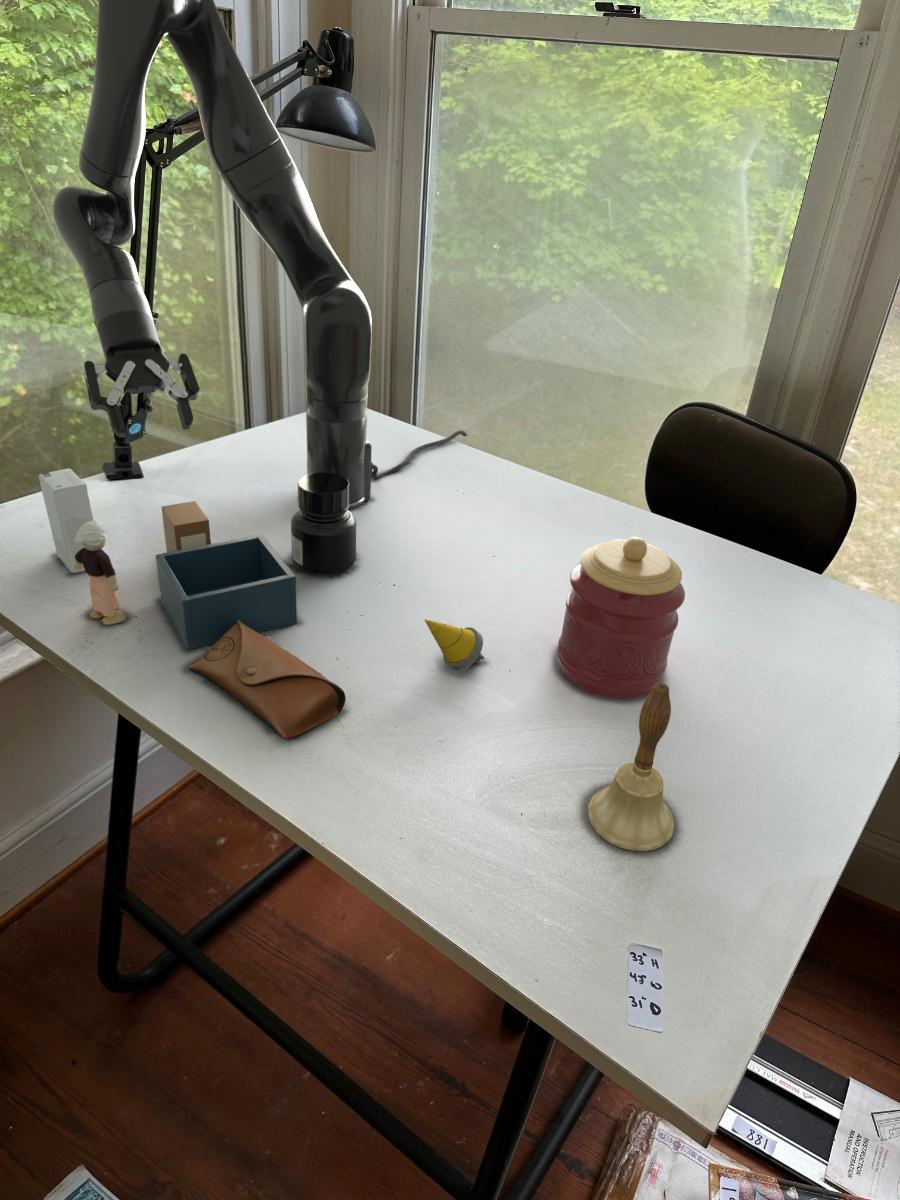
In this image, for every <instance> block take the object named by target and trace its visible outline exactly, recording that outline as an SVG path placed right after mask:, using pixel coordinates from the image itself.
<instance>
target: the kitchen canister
mask: <svg viewBox="0 0 900 1200" xmlns="http://www.w3.org/2000/svg"><path fill="white" fill-rule="evenodd" d="M580 556H581V557H580V562H579V563H577V564H576V565H575V566H574V567H573V568H572V569H571V571H570V575H569V582H570V586H571V587H572V588H571V590H570V591H569V592H568V593H567V595H566V599H565V611H564V612H565V613H564V617H563V622H562V623H563V624H562V629H561V635H560V636H559V638H558V644H557V647H556V650H557V651H556V653H557V663H558V666H559V669H560V671H561V673H562V674H563V675H564V676H565V677H566V678H567V679H568V680H569V682H571V683H572V684H574V685H575V686H577V687H578V688H580V689H582V690H584V691H585V692H588V693H591V694H594V695H598V696H600V697H604V698H611V699H623V700H624V699H634V698H639V697H643V696H645V695H649V694H650V692H651V691H652V689H653V687H654V685H655V684H656V683H661V680H662V679H663V678H664V676H665V674H666V669H667V666H668V656H669V653H670V649H671V645H672V641H673V637H674V634H675V631H676V629H677V627H678V624H679V614H678V611H677V610H679V609H680V607H682V606H683V604H684V602H685V599H686V591H685V588H684V586H683V584H682V580H683V573H682V572H683V571H682V568H681V567H680V566H679V564H678V563H677V562H676V561H675V560H674V559H672V558H671V557H670V556H669V555H667V553H665V552H664V550H662V549H660V548H658V547H656V546H655V545H652V544H650V543H646V541H645V540H644V539H642V538H641V537H638V536H631V537H629V538H628V539H625V538H624V539H622V538H621V539H618V538H617V539H612V540H606V541H604V542H601V543H598V544H594V545H592V546H589V547H588V548H586V549H585V550H584V551H583V553H582V555H580Z"/></svg>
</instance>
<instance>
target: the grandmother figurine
mask: <svg viewBox="0 0 900 1200" xmlns="http://www.w3.org/2000/svg"><path fill="white" fill-rule="evenodd" d="M74 541H75V542H76V543H78V544H83V546H84V548H82V549H81V550H79V551H78V552H77V553H76V554H75V559H76V561H75V562H76V563H75V567H76V568H77V569H82V568H83V567H84V569H85V571H84V572H85V574H86V575H87V577H88V581H89V582H88V585H89V592H90V597H91V603H92V608H93V610H91V612H90V613H89V616H90V617H91V618H92V619H101V618H102V620H101V622H102V624H103V625H106V626H107V625H109V626H111V625H114V624H119V623H122V622H124V621H126V619H127V615H126V614H125V613H124V611H121V610H117V609H118V608H119V606H120V603H119V599H118V596H117V591H119V589H120V585H119V583H118V579H117V575H116V571H115V569H114V566H113V564H112V561H111V557H110V556H109V554H107V552H105V551H104V550H103V548H104V547H105V545H106V542H107V541H106V536H105V528H104V526H103V524H102V523H101V522H99V521H98V520H93V521H90V522H87V523H85V524H84V525H82V526H81V527H80V529H79V530H78V532H77V535H76V537H75V540H74Z"/></svg>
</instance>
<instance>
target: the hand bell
mask: <svg viewBox="0 0 900 1200" xmlns="http://www.w3.org/2000/svg"><path fill="white" fill-rule="evenodd" d="M671 714H672V703H671V697H670V687H669V686H668V684H666V683H664V682H660V683H656V684H655V685H654V687H653V689H652V691H651V692H650V693H648V694H647V696H646V697H645V700H644V701H643V703H642V706H641V708H640V713H639V718H638V731H639V743H638V747H637V751H636V753H635V756H634V761H633V762H627V763H625V764H623V765H621V766H620V767H619V768H618V769H617V770H616V772H615V774H614V778H613V780H612V782H611V784H610V785H608V786H605V787H602V788H601V789H600V790H598V791H597V792H596V793H595V794H593V796H592V797H591V799H590V800H589V802H588V804H587V818H588V820H589V822H590V825H591V827H592V828H593V830H594V831H595V832H596V833H597V834H598V835H599V836H600V837H601V838H602V839H604V840H605V841H606V842H608V843H610V844H611V845H613V846H615V847H618V848H619V849H620V848H621V849H623V850H627V851H633V852H649V851H654V850H657V849H659V848H661V847H663V846H665V845H666V844H667V843H668V842H669V841H670V840H671V839H672V837H673V834H674V832H675V820H674V817H673V814H672V812H671V810H670V808H669V806H668V805H667V804H666V802H665V801H664V786H665V783H664V778H663V776H662V775H661V774H660V772H659V771H658V770H657V769H656V768H654V767H653V765H654V760H655V754H656V750H657V746H658V744H659V743H660V740H661V739H662V738H663V736H664V735H665V732H666V731H667V729H668V726H669V723H670V720H671Z"/></svg>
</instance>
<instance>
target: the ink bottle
mask: <svg viewBox="0 0 900 1200" xmlns="http://www.w3.org/2000/svg"><path fill="white" fill-rule="evenodd" d="M349 488H350V483H349V482H348V479H346V478H344V477H343V476H340V475H337V474H334V473H326V472H323V473H313V474H308V475H307V474H305V475H303V476H302V477H300V478H299V480H298V481H297V503H298V510H297V511H296V512H295V513H294V514H293V515H292V517H291V520H290V539H291V541H290V543H291V544H290V545H291V560H292V563H293V565H294V566H295V568H297V569H298V570H299V571H301V572H304V573H307V574H311V575H315V576H317V575H318V576H334V575H339V574H343V573H344V572H347V571H348V570H349V569H351V568H352V567H353V566H354V564H355V563H356V560H357V525H358V524H357V519H356V517H355V515H354V513H352V511H350V510H349V509H350V508H349Z"/></svg>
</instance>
